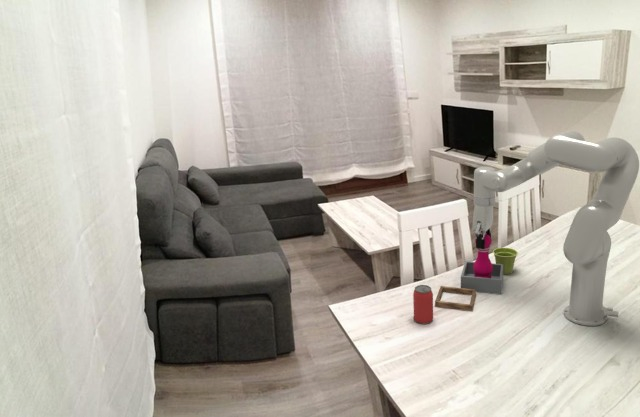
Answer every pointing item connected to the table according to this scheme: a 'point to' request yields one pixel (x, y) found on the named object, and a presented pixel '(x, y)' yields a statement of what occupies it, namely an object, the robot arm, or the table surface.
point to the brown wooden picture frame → (455, 305)
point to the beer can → (423, 304)
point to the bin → (482, 279)
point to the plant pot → (505, 258)
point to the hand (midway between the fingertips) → (483, 245)
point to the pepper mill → (483, 260)
